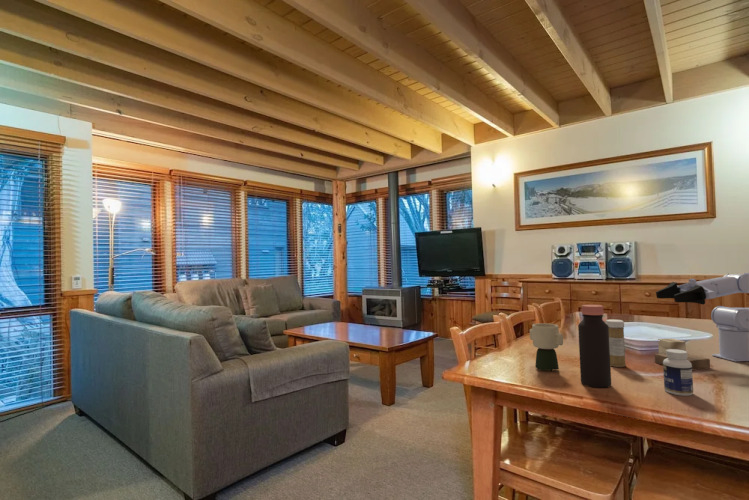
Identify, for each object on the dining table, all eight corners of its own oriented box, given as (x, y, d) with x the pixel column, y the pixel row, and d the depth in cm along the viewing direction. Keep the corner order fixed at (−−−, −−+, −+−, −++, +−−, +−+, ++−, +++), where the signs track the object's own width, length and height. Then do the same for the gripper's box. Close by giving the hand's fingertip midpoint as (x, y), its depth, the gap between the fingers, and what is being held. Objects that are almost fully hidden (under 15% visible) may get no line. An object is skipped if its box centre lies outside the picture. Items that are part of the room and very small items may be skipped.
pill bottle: (658, 389, 94) (656, 348, 94) (679, 388, 95) (677, 347, 95) (677, 397, 89) (675, 354, 89) (699, 395, 89) (697, 352, 89)
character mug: (572, 372, 110) (570, 326, 111) (555, 376, 107) (553, 328, 107) (539, 364, 120) (537, 321, 120) (523, 367, 116) (521, 324, 117)
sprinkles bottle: (611, 362, 119) (609, 318, 119) (628, 365, 115) (626, 320, 116) (605, 365, 116) (603, 320, 116) (622, 368, 112) (620, 321, 113)
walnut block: (679, 361, 119) (679, 351, 119) (710, 369, 111) (709, 358, 111) (655, 364, 118) (654, 354, 118) (684, 372, 109) (683, 361, 109)
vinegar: (614, 383, 99) (610, 305, 100) (606, 390, 94) (602, 307, 95) (585, 378, 104) (582, 303, 105) (577, 384, 99) (573, 306, 100)
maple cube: (673, 353, 128) (672, 338, 128) (686, 357, 123) (685, 341, 123) (658, 354, 128) (658, 339, 128) (670, 358, 123) (669, 342, 123)
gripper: (689, 274, 128) (647, 281, 128) (728, 278, 113) (681, 287, 114) (692, 295, 128) (651, 302, 128) (732, 302, 113) (685, 310, 114)
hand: (665, 296), depth 121 cm, fingers open, 7 cm apart
